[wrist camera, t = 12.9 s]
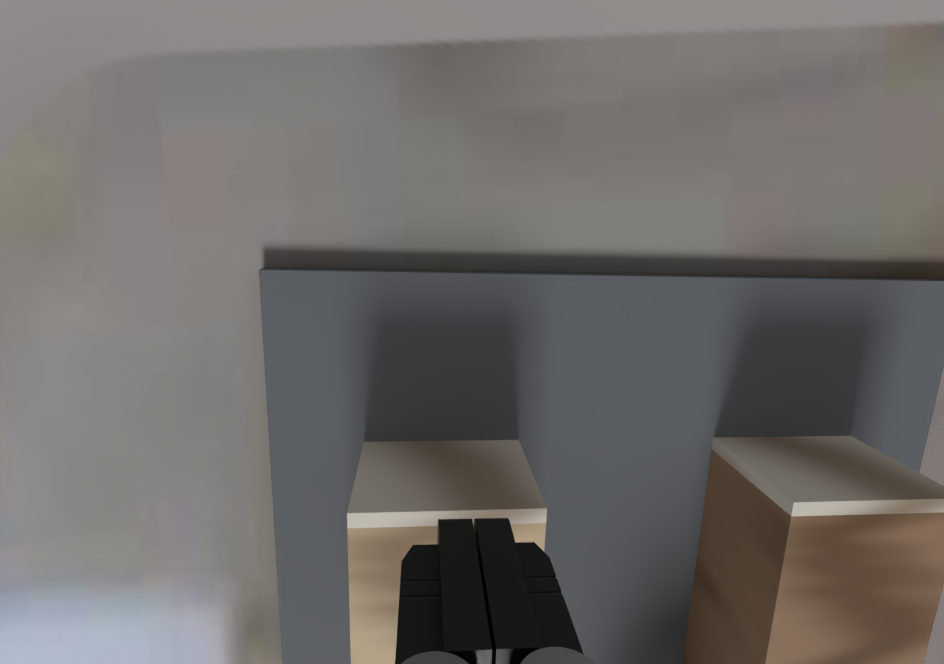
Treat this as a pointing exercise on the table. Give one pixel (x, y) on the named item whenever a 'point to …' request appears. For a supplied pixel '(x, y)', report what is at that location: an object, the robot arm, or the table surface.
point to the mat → (575, 413)
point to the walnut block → (814, 555)
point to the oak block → (424, 519)
